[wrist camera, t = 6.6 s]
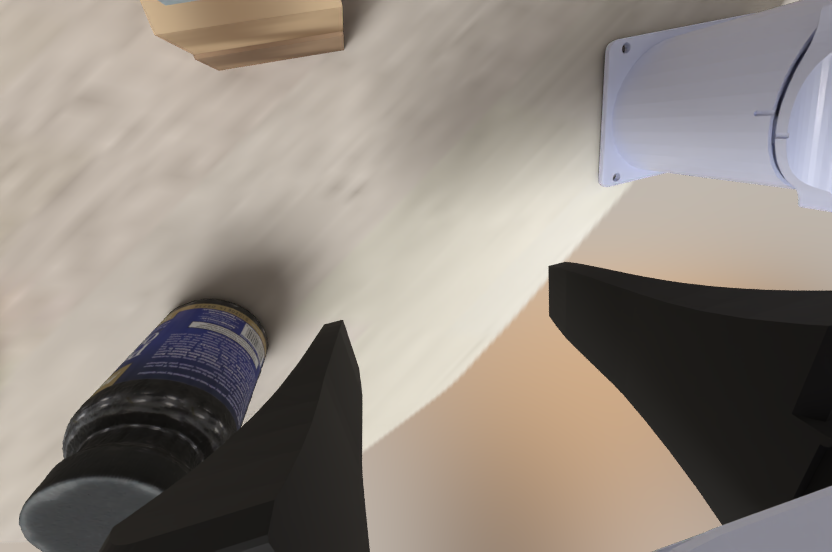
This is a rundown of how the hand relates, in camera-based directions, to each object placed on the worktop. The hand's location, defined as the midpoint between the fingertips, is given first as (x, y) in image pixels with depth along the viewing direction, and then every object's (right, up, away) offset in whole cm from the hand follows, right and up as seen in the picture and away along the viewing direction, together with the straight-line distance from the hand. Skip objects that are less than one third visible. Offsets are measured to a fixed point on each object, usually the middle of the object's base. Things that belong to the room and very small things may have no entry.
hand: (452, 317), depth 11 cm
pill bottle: (-14, -3, +10) cm, 17 cm away
